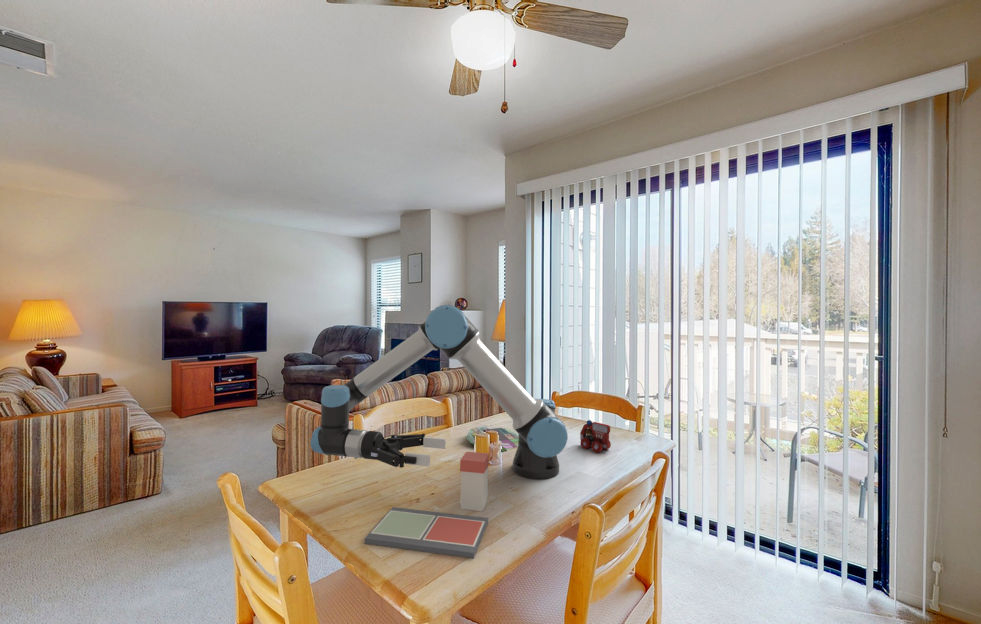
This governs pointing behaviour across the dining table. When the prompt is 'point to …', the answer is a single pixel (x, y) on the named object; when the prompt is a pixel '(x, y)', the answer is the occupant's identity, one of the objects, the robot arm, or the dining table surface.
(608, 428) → the toy fire truck
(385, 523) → the grey flat board
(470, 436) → the city model
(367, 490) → the dining table surface
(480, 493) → the block
